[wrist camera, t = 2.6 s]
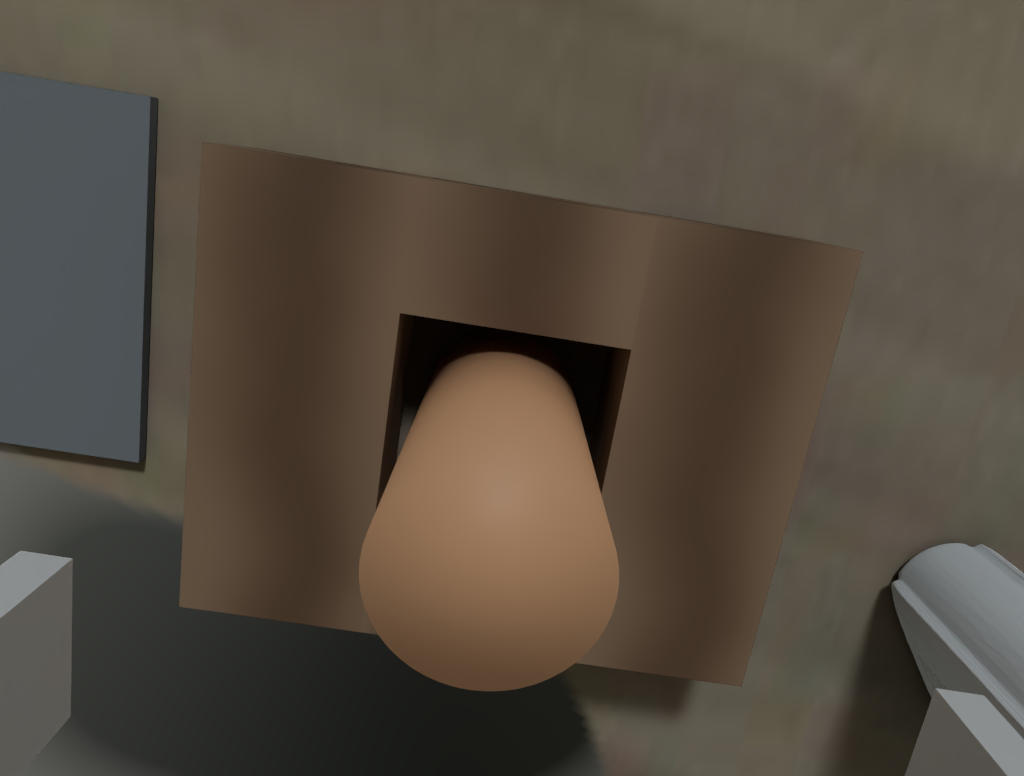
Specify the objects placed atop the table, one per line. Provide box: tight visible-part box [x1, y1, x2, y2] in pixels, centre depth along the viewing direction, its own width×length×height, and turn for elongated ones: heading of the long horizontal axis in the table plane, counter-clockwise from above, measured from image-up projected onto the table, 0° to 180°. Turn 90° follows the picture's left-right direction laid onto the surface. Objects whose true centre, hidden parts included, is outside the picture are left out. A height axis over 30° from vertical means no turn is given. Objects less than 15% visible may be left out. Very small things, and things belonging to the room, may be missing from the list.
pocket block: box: [179, 142, 863, 687], centre depth 24 cm, size 18×14×4 cm
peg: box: [359, 330, 619, 691], centre depth 20 cm, size 5×5×12 cm
